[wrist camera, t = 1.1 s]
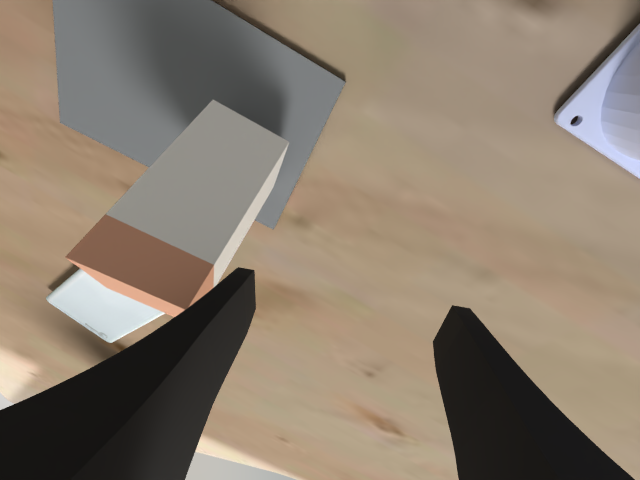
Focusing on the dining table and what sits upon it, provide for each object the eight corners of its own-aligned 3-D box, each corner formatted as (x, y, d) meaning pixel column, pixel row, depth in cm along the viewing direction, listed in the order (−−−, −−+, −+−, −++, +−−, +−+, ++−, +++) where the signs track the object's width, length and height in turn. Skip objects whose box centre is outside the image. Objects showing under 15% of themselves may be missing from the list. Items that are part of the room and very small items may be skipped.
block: (289, 141, 15) (186, 310, 10) (273, 186, 19) (193, 324, 14) (213, 99, 15) (64, 257, 10) (212, 154, 19) (106, 287, 14)
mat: (345, 81, 15) (345, 81, 15) (274, 227, 21) (273, 229, 21) (52, -97, 13) (46, -100, 13) (64, 121, 19) (60, 122, 19)
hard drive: (110, 344, 32) (172, 310, 27) (43, 299, 29) (99, 250, 24) (120, 333, 34) (182, 298, 28) (57, 288, 31) (113, 240, 25)
